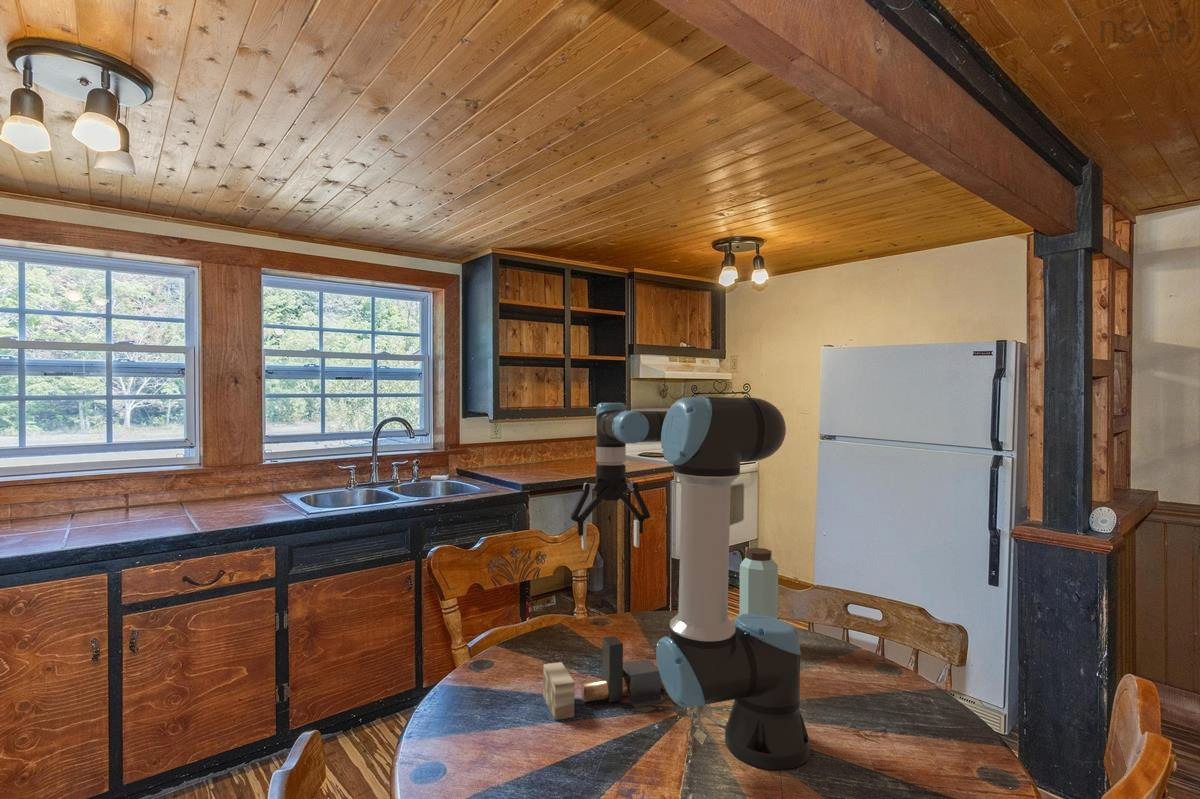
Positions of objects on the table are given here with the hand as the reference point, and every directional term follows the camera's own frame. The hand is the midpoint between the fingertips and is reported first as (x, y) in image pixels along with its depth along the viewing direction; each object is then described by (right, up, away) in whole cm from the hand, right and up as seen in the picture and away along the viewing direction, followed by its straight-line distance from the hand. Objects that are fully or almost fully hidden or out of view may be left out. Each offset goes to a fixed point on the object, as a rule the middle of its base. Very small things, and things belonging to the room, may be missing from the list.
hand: (610, 547), depth 152 cm
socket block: (-11, -27, -26) cm, 39 cm away
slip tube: (+3, -27, -22) cm, 35 cm away
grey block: (+6, -27, -20) cm, 34 cm away
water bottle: (+39, -28, +6) cm, 48 cm away
